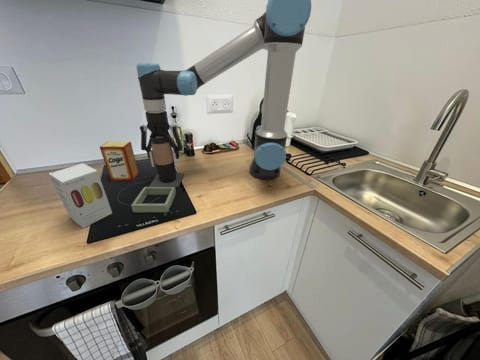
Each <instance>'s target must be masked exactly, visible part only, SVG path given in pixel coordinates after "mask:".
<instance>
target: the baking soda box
mask: <svg viewBox="0 0 480 360" xmlns="http://www.w3.org/2000/svg"><path fill="white" fill-rule="evenodd" d="M99 149H100V150H99V151H100V152H101V156H102V158H103V160H104V164H105V167H106V170H107V172H108V173H107V174H108V176H109V178H110V181H134V180H135V179H136V177H137V176H138V175H139V170H138V165H137V164H138V163H137V161H136V157H135V153H134V149H133V145H132V142H131V141H125V140H124V141H123V140H122V141H108V140H107V141H106V142H104V143H103V144H102V145H100V146H99Z"/></svg>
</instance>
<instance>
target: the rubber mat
mask: <svg viewBox="0 0 480 360" xmlns="http://www.w3.org/2000/svg"><path fill="white" fill-rule="evenodd" d="M184 175H185V172H176V179H175V180H174V181H172V182H169V183H163V182H161V181H160V180H159V176H158V173H157V174H156V175H155V177H154V179H153V180H152V182H151V183H150V185H149V187H175V188H179V187H180V184H181V183H182V180H183V178H184Z"/></svg>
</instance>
